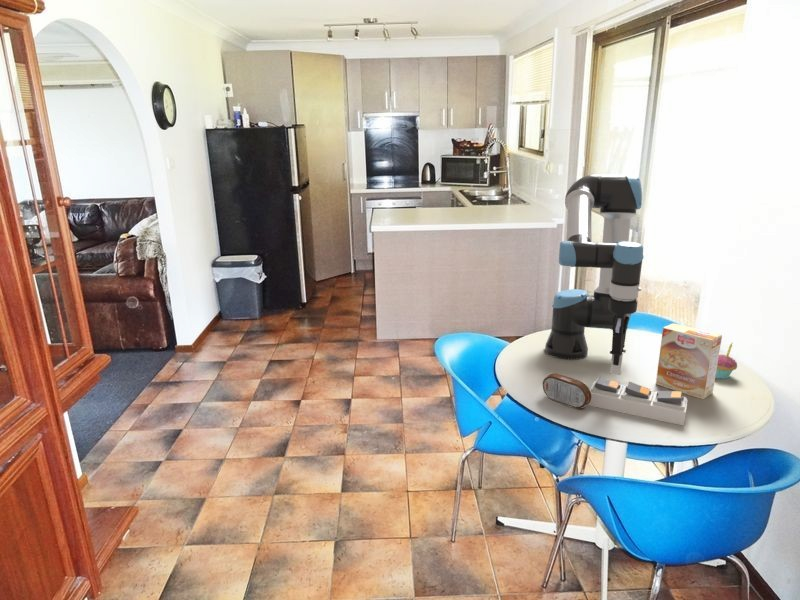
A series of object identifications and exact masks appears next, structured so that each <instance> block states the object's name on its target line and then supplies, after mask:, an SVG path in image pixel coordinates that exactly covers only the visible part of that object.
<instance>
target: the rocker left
mask: <svg viewBox="0 0 800 600" xmlns="http://www.w3.org/2000/svg"><path fill="white" fill-rule="evenodd" d="M596 380H597V382H596V384H595V388H598V389H601V390H604V391H608V392H613V393H616V392H617V389H618V386H619V385H620V382H617V381H615V380H611V379H608V378H605V377H602V376H598V377H597V379H596Z"/></svg>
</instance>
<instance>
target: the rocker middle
mask: <svg viewBox="0 0 800 600" xmlns="http://www.w3.org/2000/svg"><path fill="white" fill-rule="evenodd" d="M626 386H627V389H626V391H625V393H627V394H630V395H632V396H635V397H639V398H644V399H647V398H648V395H649V392H650V390H651V389H650V388H648V387H645V386H643V385H640V384H638V383H634V382H631V381H628V384H627V385H626Z"/></svg>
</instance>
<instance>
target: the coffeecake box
mask: <svg viewBox="0 0 800 600" xmlns="http://www.w3.org/2000/svg"><path fill="white" fill-rule="evenodd" d="M722 338H723V335H722V334H719V333H715V332H712V331H711V332H710V331H708V330H707V331H706V330H703V329H699V328H695V327H690V326H687V325H682V324H679V323H678V324H677V323H674V322H673V323H670V324H669V325H666V326H663V328H662V332H661V339H660V340H661V342H660V350H659V355H658V356H659V357H658V363H657V365H658V366H657V370H656V372H657V373H656V378H655V379H656V380H655V385H658V386H661V387H663V386H664V388H667V389H668V390H669V389H670V390H672V391H682V394H685V395H688V396H692V397H695V398H697V399H699V400H705V399H706V398H707V397H709V396H711V395H712V394H713V392H714V387H715V381H716V380H715V379H716V377H715V376H716V370H717V363H718V357H719V355H720V352H721V345H722Z"/></svg>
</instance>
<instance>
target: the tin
mask: <svg viewBox="0 0 800 600" xmlns="http://www.w3.org/2000/svg"><path fill="white" fill-rule="evenodd" d="M542 390H543V393H544V394H545V396H546V397H547V398H548V399H549V400H552V401H554V402H557V403H559V404H563V405H565V406H567V407H570V408H573V409H576V410H579V409H582V408H585V407H586V406H589V405H588V404H589V403H590V401H591V392H590V388H589V386H587V384H585V382H583V381H581V380H578V379H575V378H572V377H570V376H566V375H563V374H561V373H557V372H552V373H550V374H548V375H547V376H545V377H544V379H543V381H542Z"/></svg>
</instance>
